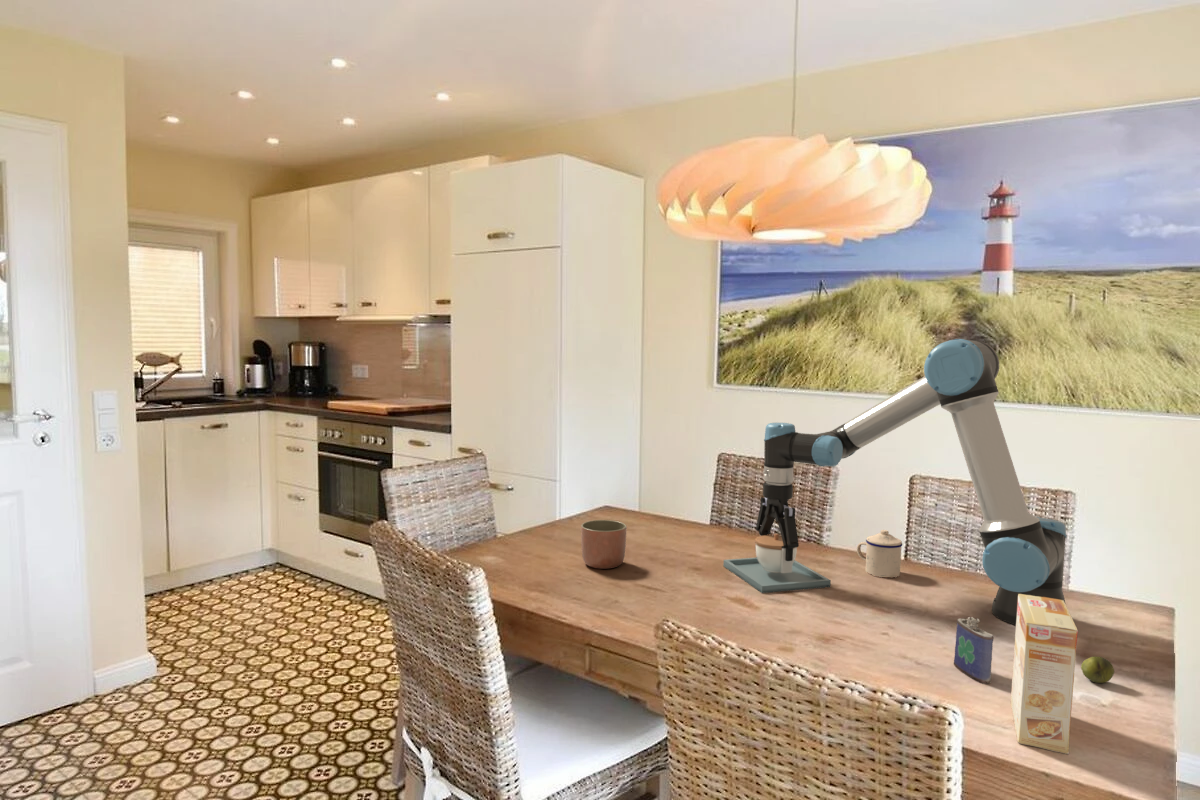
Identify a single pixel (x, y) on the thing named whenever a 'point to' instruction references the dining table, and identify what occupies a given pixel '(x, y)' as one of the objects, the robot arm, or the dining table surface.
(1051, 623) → the coffeecake box
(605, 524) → the planter
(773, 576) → the tray
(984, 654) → the flask
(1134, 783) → the dining table surface
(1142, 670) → the dining table surface
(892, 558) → the teacup with lid
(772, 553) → the lidded jar
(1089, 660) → the lime
